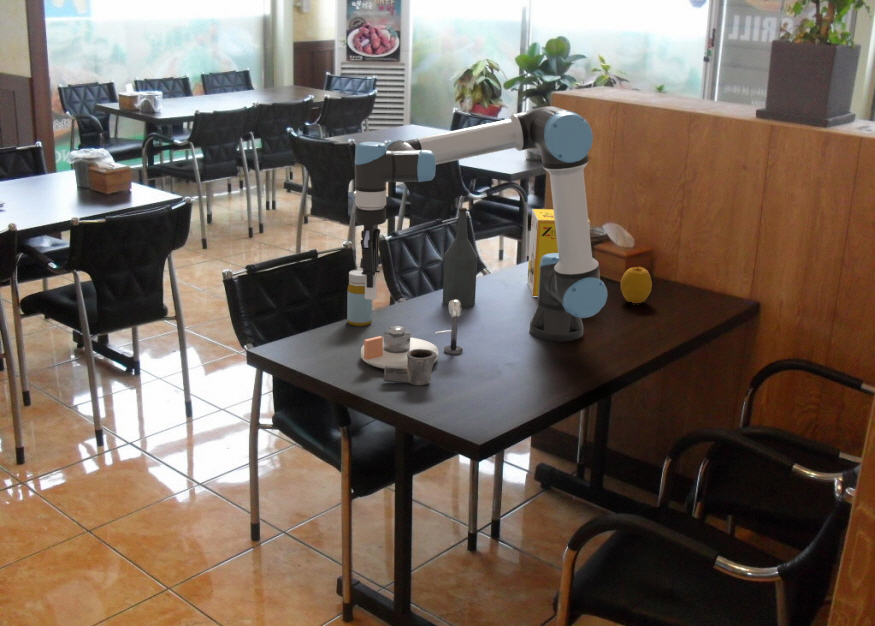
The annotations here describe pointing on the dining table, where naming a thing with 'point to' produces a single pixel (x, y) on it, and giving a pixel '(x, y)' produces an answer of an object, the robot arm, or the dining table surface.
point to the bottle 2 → (460, 267)
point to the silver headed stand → (453, 328)
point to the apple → (636, 284)
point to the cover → (396, 340)
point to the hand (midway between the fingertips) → (370, 298)
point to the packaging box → (541, 243)
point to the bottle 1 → (358, 300)
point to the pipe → (413, 368)
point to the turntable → (380, 358)
